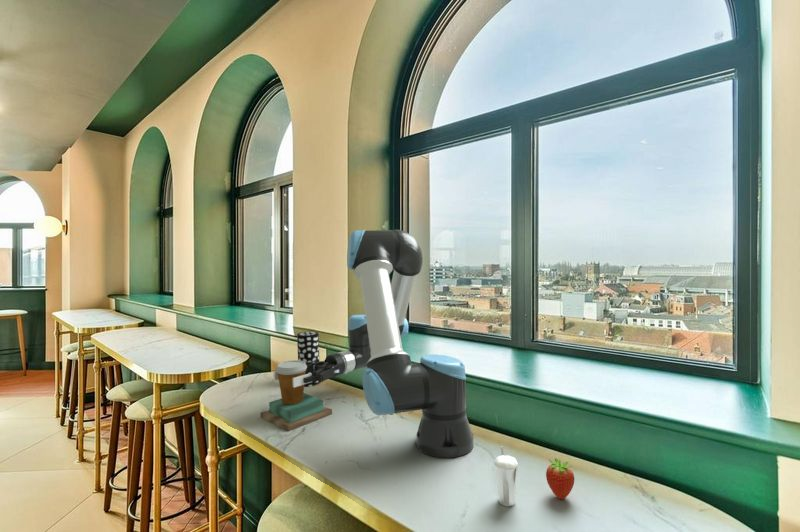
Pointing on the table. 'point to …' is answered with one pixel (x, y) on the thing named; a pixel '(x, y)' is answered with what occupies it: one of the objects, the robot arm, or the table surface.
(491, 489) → the table surface
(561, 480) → the fruit
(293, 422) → the display stand
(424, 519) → the table surface
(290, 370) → the disposable coffee cup
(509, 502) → the milkshake
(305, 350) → the white-spotted black cylinder
